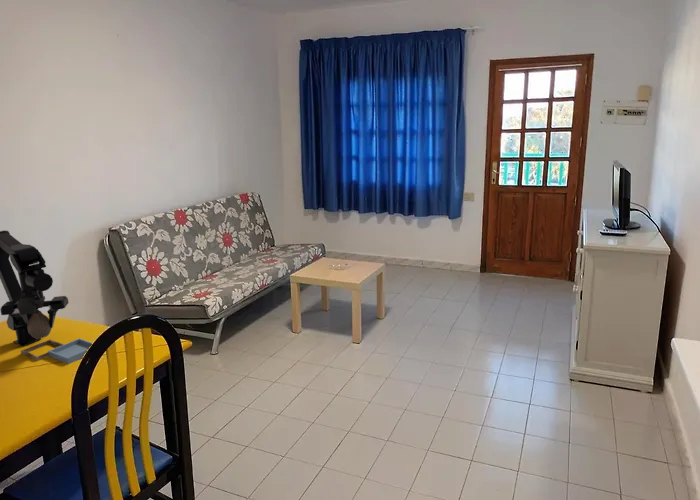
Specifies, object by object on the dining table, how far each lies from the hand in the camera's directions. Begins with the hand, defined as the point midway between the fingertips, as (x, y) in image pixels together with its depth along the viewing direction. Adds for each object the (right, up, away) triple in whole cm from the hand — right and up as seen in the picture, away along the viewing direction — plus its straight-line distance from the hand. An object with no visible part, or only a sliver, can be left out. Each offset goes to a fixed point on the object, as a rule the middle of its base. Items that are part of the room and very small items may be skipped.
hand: (40, 329), depth 174 cm
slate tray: (+12, -8, 0) cm, 14 cm away
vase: (0, -3, +1) cm, 3 cm away
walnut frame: (0, -8, +2) cm, 8 cm away
